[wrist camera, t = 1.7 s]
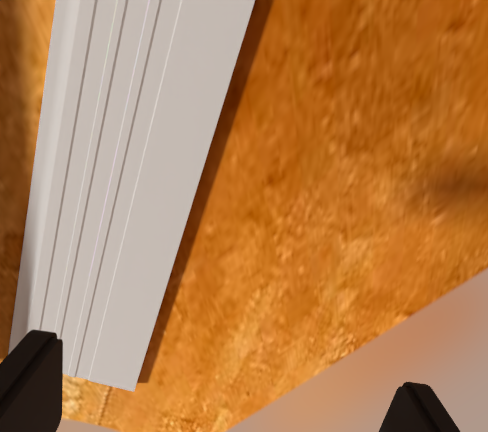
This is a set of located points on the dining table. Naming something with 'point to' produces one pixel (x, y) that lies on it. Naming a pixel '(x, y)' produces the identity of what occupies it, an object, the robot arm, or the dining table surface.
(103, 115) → the baseboard molding
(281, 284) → the dining table surface
